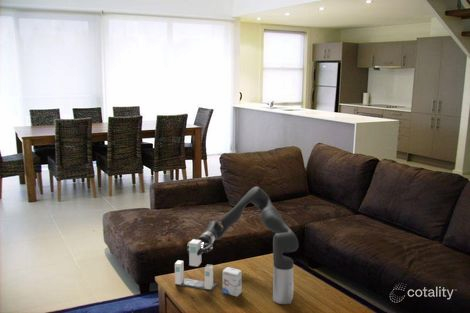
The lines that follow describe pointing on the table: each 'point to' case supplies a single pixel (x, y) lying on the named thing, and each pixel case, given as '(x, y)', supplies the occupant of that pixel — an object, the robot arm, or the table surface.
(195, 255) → the white tall block
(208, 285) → the mounted modules
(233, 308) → the table surface
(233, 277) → the ink box
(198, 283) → the rail
